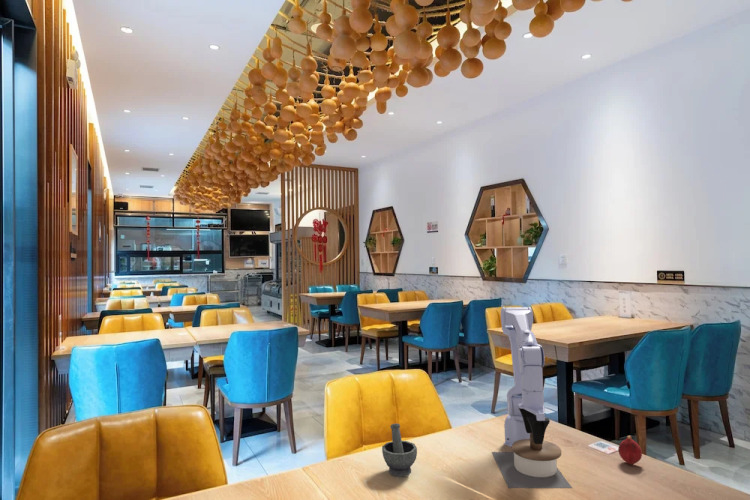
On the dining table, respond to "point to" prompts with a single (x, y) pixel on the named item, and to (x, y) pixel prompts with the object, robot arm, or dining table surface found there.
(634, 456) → the onion
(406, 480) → the dining table surface
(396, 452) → the mortar and pestle
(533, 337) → the robot arm
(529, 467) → the bowl
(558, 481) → the placemat
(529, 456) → the lid
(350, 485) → the dining table surface
